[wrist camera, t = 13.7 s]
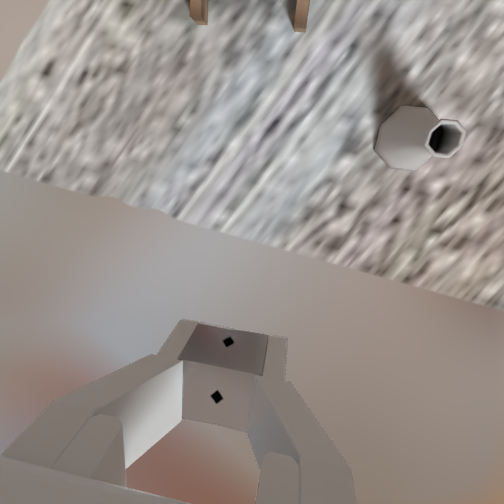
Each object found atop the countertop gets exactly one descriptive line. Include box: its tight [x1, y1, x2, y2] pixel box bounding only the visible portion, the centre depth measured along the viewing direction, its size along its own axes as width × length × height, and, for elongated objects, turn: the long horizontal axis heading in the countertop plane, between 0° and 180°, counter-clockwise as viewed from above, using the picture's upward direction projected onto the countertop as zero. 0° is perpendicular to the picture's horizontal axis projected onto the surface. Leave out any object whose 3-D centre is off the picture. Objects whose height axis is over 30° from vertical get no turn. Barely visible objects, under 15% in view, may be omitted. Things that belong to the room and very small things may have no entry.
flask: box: [374, 105, 467, 171], centre depth 31 cm, size 7×7×10 cm
